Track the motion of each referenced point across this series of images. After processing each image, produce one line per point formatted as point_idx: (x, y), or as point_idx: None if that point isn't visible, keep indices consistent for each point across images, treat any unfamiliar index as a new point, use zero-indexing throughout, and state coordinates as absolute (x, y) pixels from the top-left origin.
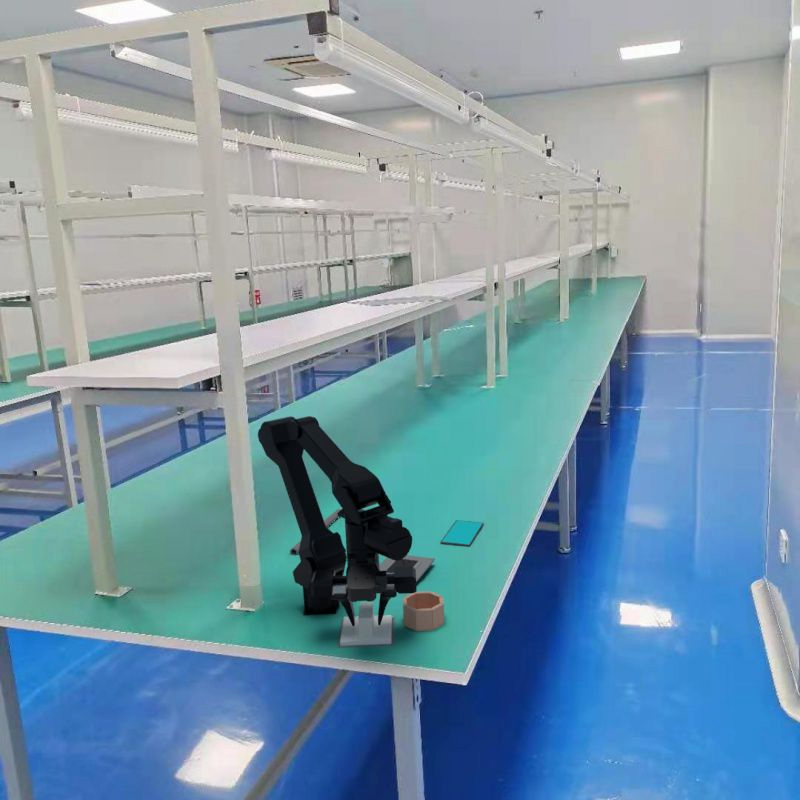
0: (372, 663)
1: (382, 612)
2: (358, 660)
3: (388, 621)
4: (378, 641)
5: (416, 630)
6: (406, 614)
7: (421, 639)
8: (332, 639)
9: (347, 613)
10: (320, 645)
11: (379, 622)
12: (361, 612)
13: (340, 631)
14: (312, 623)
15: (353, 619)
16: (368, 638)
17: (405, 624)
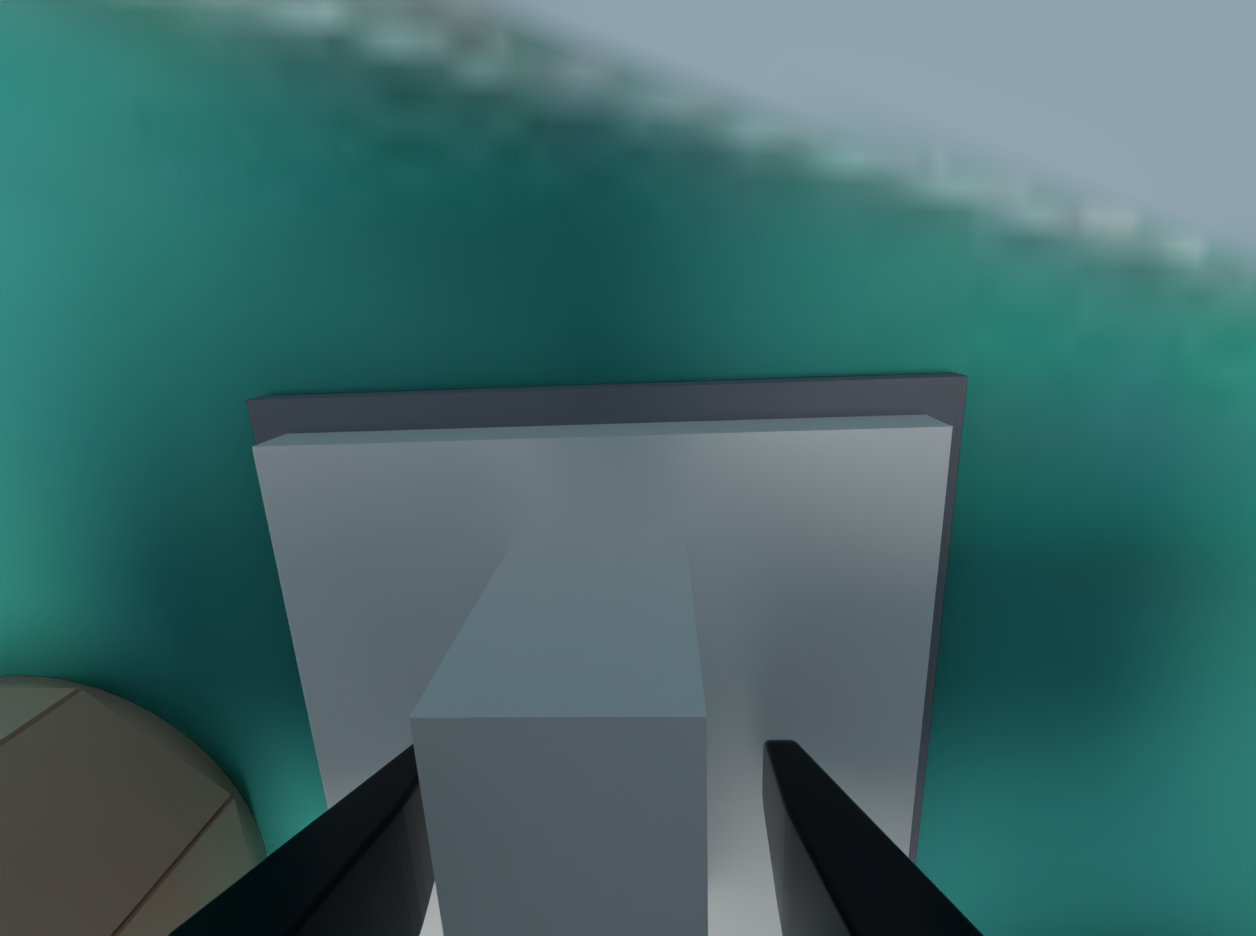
0: (471, 5)
1: (241, 896)
2: (667, 91)
3: None
4: (426, 440)
5: (70, 692)
6: (61, 904)
7: (9, 550)
8: (1009, 600)
9: (952, 911)
10: (1166, 478)
11: (407, 762)
12: (657, 927)
13: (923, 725)
14: (1218, 909)
15: (797, 808)
16: (557, 489)
17: (198, 797)
